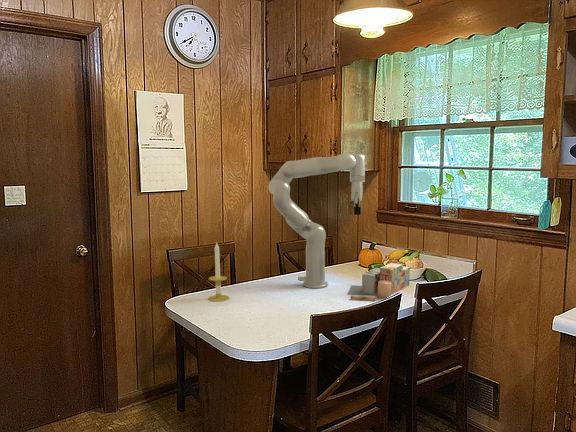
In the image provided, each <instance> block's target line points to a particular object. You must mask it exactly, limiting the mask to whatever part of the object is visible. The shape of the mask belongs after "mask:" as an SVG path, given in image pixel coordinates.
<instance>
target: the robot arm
mask: <svg viewBox="0 0 576 432" xmlns="http://www.w3.org/2000/svg"><path fill="white" fill-rule="evenodd" d="M348 170H349V182H351V190H350V191H351V193H350V195H351V197H350V201H351V202H353V201H354V203H353V214H354V215H356V216H360V215H362V209H361V202H362V200H363V194H364V193H363V189H364V187H363V184H364V183H365V182H366V157H365V155H364V154H361V153H359V154H355V153H354V154H349V153H343V154H342V153H341V154H337V155H336V156H335V155H334V156H319V157H318V156H317V157H310V158H304V159H298V160H297V159H296V160H287V161H285V163H283V164H282V166H281V167H280V168H279V170H278V171H277V172H276V174H275V175H274V176H273V177H272V179H271V180H270V181H269V183H268V191H269V192H270V194H271V195H273V196H272V201H273V206H274V207H275V209H276V210H277V211H278V212H279V214H280V215H281V216H282V217H284V219H285V222H286V223H287V225H288V226H289V227H290V228H291V229H292V230H294V231H295V232H296V233H297V234H298V235H299V236H300V237H302V238H303V239H305V240H306V245H305V275H304V276H297V281H299V282H303V283H302V286H303V287H305V288H309V289H324V288H327V287H328V285H329V283H328V281H326V279H325V278H326V274H325V273H326V271H325V266H326V263H325V260H326V259H325V256H326V255H325V247H326V245H325V244H326V239H327V234H326V230H325V228H324V226H322V225H321V224H319V223H316V222H313V221H312V220H311V219H310V217H309V215H308V213H306V212H305V211H304V210H303V209H301V207H299V206H298V205H297V204H296V203H295V202H294V201H293V200H292V199H291V195H290V192H291V185H290V184H291V182H292V180H293V179H298V178H305V177H310V176H319V175H324V174H325V175H326V174H329V173H336V172H342V171H348Z"/></svg>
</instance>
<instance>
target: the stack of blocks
mask: <svg viewBox="0 0 576 432" xmlns="http://www.w3.org/2000/svg"><path fill="white" fill-rule="evenodd" d="M410 272H411V267H410V266H404V265H403V264H401V263H394V262H390V263H388V264H386V265H383V266H380V280H387V281H390V282H391V295H393V294H394V293H397V292H399V291H400V290H403V289H404V288H406V287H408V286H409V285H410V275H411V273H410Z"/></svg>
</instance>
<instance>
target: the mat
mask: <svg viewBox="0 0 576 432" xmlns="http://www.w3.org/2000/svg"><path fill="white" fill-rule="evenodd" d="M347 295H350V296H367V297H377V293H375V294H368V293H362V285H355V284H354V285H350V287H349V289H348V292H347Z"/></svg>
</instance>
